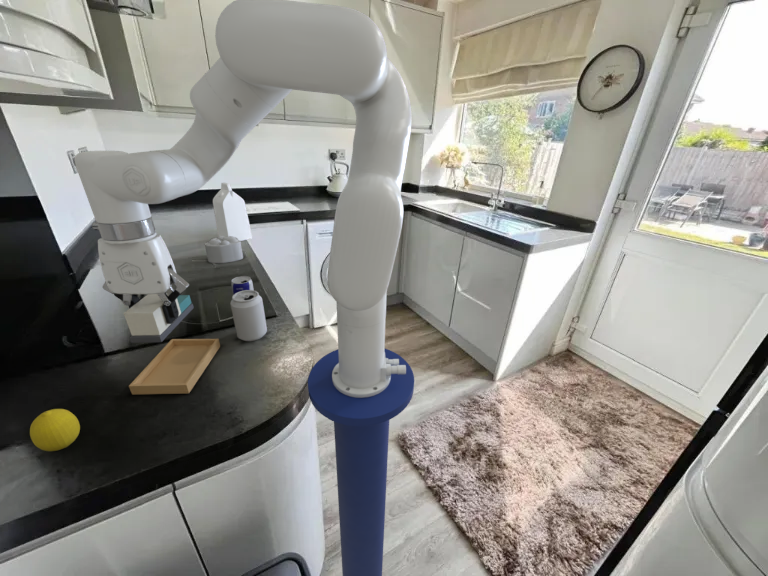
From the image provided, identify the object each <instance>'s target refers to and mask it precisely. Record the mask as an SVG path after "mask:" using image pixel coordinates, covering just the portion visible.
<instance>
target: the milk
mask: <svg viewBox="0 0 768 576" xmlns="http://www.w3.org/2000/svg"><path fill="white" fill-rule="evenodd" d="M245 201H246V200H244V198H242V197H241V196H240V195H239V194H237V193H236V192H235V191H233V189H232V186H231V183H227V182H221V183H220V190H218V192H217V193H216V194H215V195H214V197H213V198H212V206H213V213H214V219H215V225H216V232H217V237H218V236H224V237H228V236H233V237H236V238H238V240H239V241H240V242H241V241H247V240H252V239H253V234H252V229H251V225H250V219H249V216H248V211H247V206H246V202H245Z"/></svg>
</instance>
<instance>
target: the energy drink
mask: <svg viewBox="0 0 768 576" xmlns="http://www.w3.org/2000/svg"><path fill="white" fill-rule="evenodd" d="M230 285H231V286H230V287H231V291H232V296H233V295H234V294H235V293H237V292H240V291H244V290H254V289H255V288H254V284H253V280H252V279H251V276H247V275H241V276H236V277H234V278H232V279H231V284H230ZM254 291H255V290H254Z"/></svg>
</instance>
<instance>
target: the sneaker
mask: <svg viewBox="0 0 768 576" xmlns="http://www.w3.org/2000/svg"><path fill="white" fill-rule="evenodd" d="M166 294H167V293H166ZM167 295H168V294H167ZM140 299H141V300H140V301H139V302H137V303H136V304H135V305H134V306H132V307H131V308H130V309H129V308H128V309H127V310H126V311H124V312H123V316H124V318H125V321H126V324H127V327H128V329H129V332H130V336H129V337H128V339H129V341H130V343H133V344H134V343H135V344H136V343H162V342H163V341H164V340H166V339H167V337H168V336H169V335H170V334H171V333H172V332H173V331H174V330H175V328H177V326H179V324H181V322H182V321H183V320H184V319H186V317H187V316H188V315H189V314H190V313H191V312H192V310H193V309H194V304H193V302H192V299H191V296H190V294H180V295H179V296H178V298H177V299H176V300H175V301H176V305H177V308H178V312H179V315H178V317H177V318H176V319H175V320H174V321H173V322H172V323H171V324H167V322H166V319H165V316H164V313H163V309H162V306H163V305H164V303H163V302H162V300H161V299H160V297H159V296H158V294H145V296H144V297H142V298H140Z"/></svg>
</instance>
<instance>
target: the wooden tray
mask: <svg viewBox="0 0 768 576" xmlns="http://www.w3.org/2000/svg"><path fill="white" fill-rule="evenodd" d="M220 348H221V344H220V339H219V338H172V339H170V340H169V342H167V343H166V344H165V346H164V347H163V348H162V349H161V350H160V351H159V352H158V354H156V355H155V357H154V358H153V359H152V360H151V361H150V362H149V363H148V365H146V366H145V367H144V369H143V370H142V371H141V372H140V373H139V374H138V375H137V376H136V377H135V378H134V380H133V381H131V383H130V384H129V385H128V388H129V390H130V393H131V395H174V394H179V395H180V394H182V395H183V394H190V392H191V391H192V390H193V389H194V387H195V385H196V384H197V382H198V381H199V379H200V378H201V376H202V375H203V373H204V372H205V370H206V369H207V368H208V366H209V364H210V362H211V361H212V360H213V358H214V357H215V355H216V354H217V352H218V351H219V349H220Z"/></svg>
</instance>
